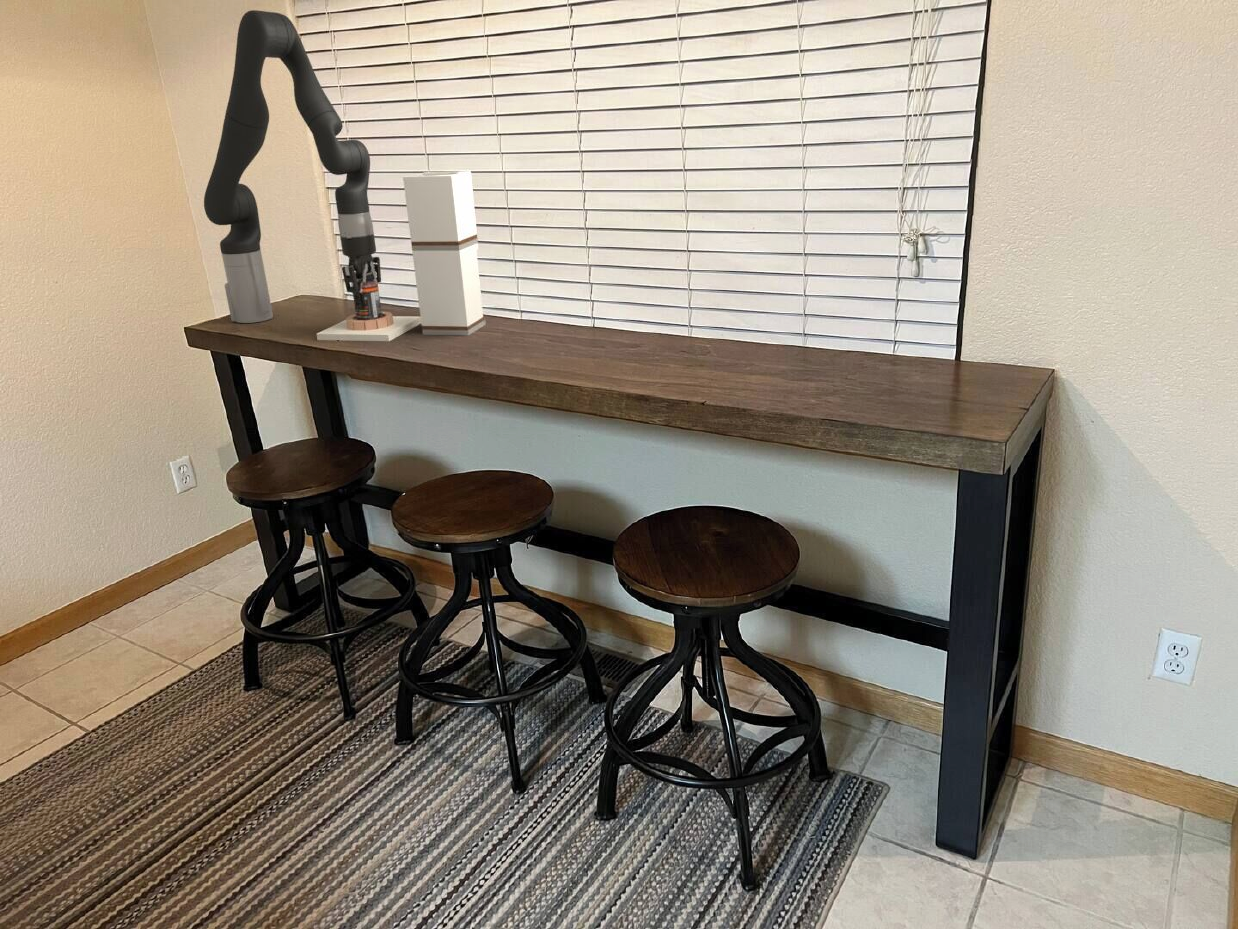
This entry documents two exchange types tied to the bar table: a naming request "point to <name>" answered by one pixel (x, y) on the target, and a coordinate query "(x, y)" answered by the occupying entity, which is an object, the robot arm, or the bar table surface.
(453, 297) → the white striped pillar
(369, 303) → the supplement bottle
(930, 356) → the bar table surface
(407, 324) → the collar mount
